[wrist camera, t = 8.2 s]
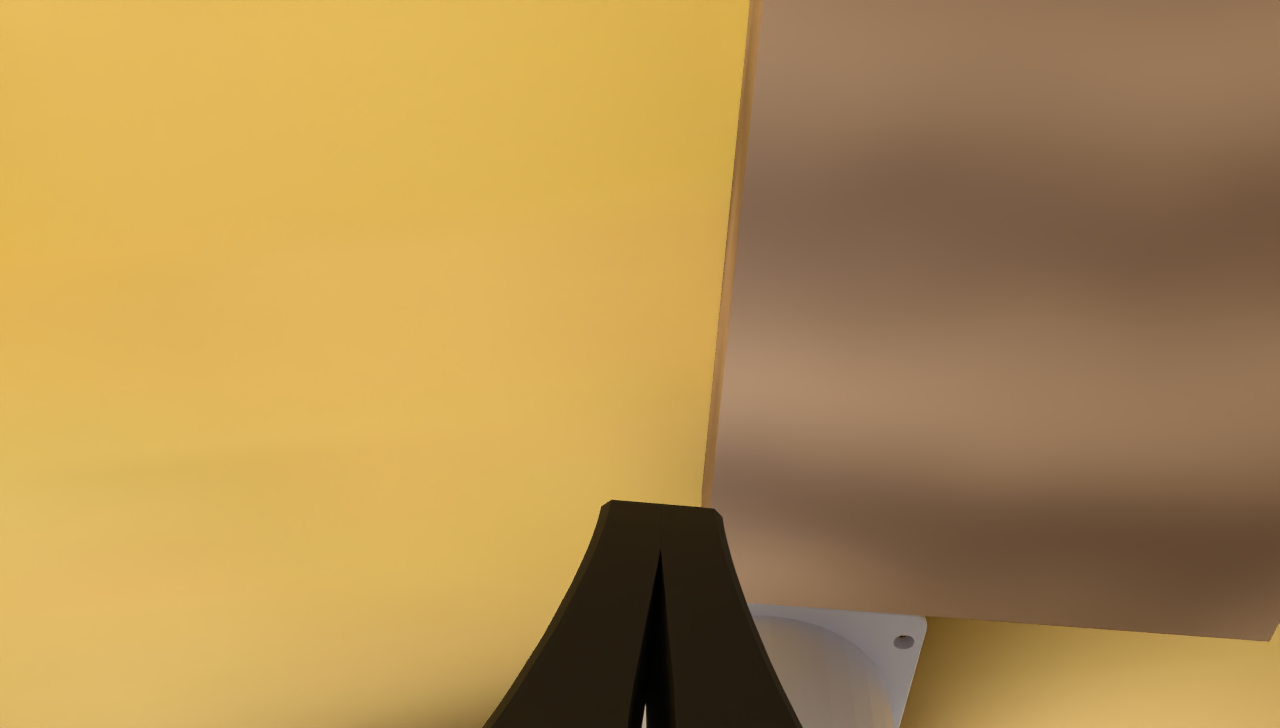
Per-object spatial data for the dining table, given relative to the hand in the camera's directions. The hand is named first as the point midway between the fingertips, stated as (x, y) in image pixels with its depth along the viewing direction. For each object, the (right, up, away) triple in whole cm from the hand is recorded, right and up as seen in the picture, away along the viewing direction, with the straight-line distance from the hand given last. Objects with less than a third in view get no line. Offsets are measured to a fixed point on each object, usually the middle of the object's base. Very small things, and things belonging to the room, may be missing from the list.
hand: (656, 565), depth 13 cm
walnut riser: (+8, +6, +8) cm, 13 cm away
